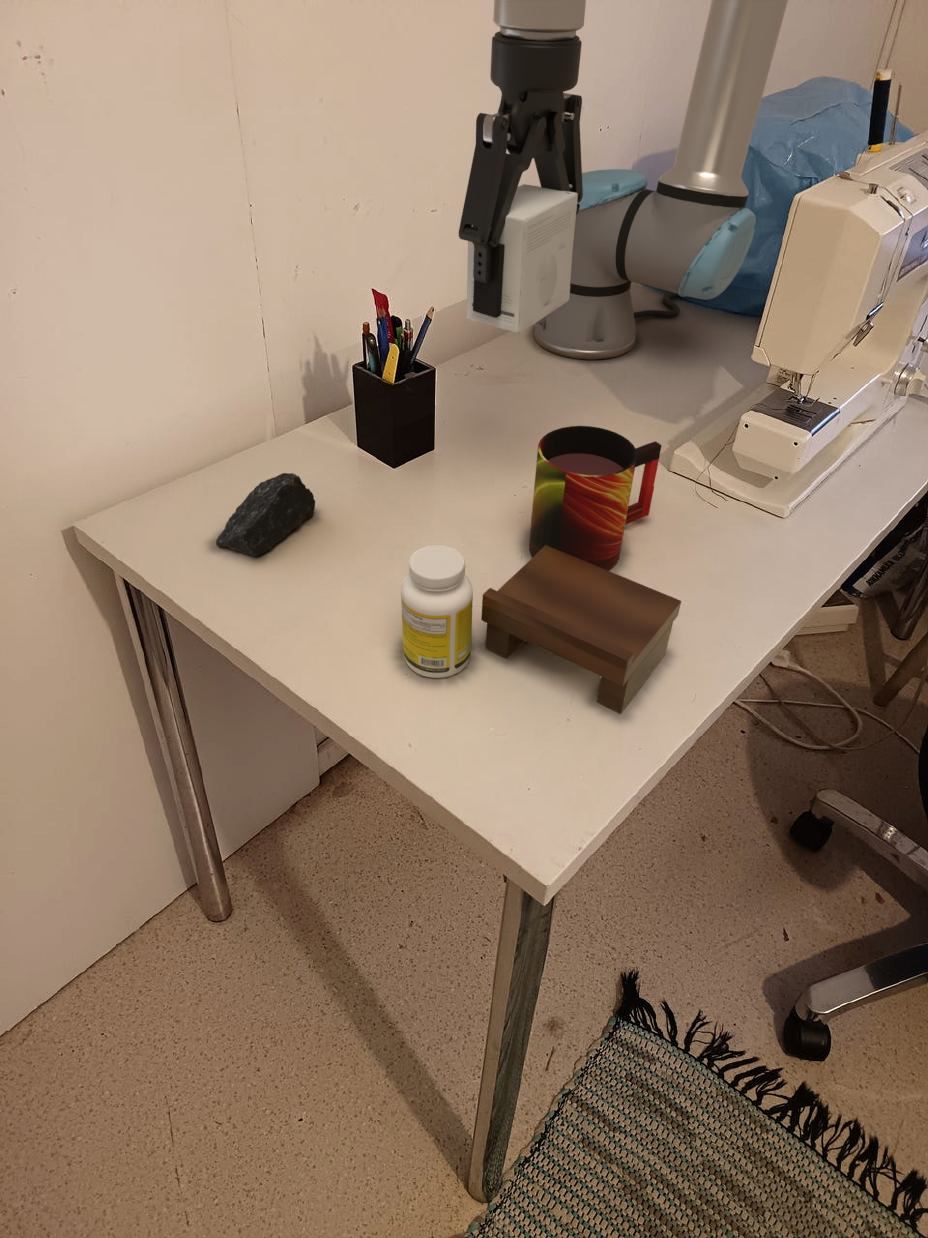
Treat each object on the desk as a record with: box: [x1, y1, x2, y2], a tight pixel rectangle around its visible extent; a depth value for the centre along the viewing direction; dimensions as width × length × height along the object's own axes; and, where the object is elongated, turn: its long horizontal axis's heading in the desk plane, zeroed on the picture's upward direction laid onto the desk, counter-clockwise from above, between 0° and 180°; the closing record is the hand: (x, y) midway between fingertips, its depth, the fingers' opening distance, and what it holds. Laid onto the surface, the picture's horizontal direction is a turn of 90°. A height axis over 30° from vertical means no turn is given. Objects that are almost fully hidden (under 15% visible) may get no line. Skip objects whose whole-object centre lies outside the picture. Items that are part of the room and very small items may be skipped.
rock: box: [215, 472, 316, 557], centre depth 92 cm, size 7×10×6 cm
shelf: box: [480, 545, 682, 715], centre depth 79 cm, size 11×14×7 cm
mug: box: [528, 425, 662, 571], centre depth 90 cm, size 10×14×12 cm
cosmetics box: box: [466, 183, 578, 334], centre depth 85 cm, size 10×6×10 cm, turn 147°
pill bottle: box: [400, 544, 474, 679], centre depth 76 cm, size 6×6×11 cm
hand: (518, 296), depth 87 cm, fingers closed on cosmetics box, 11 cm apart
